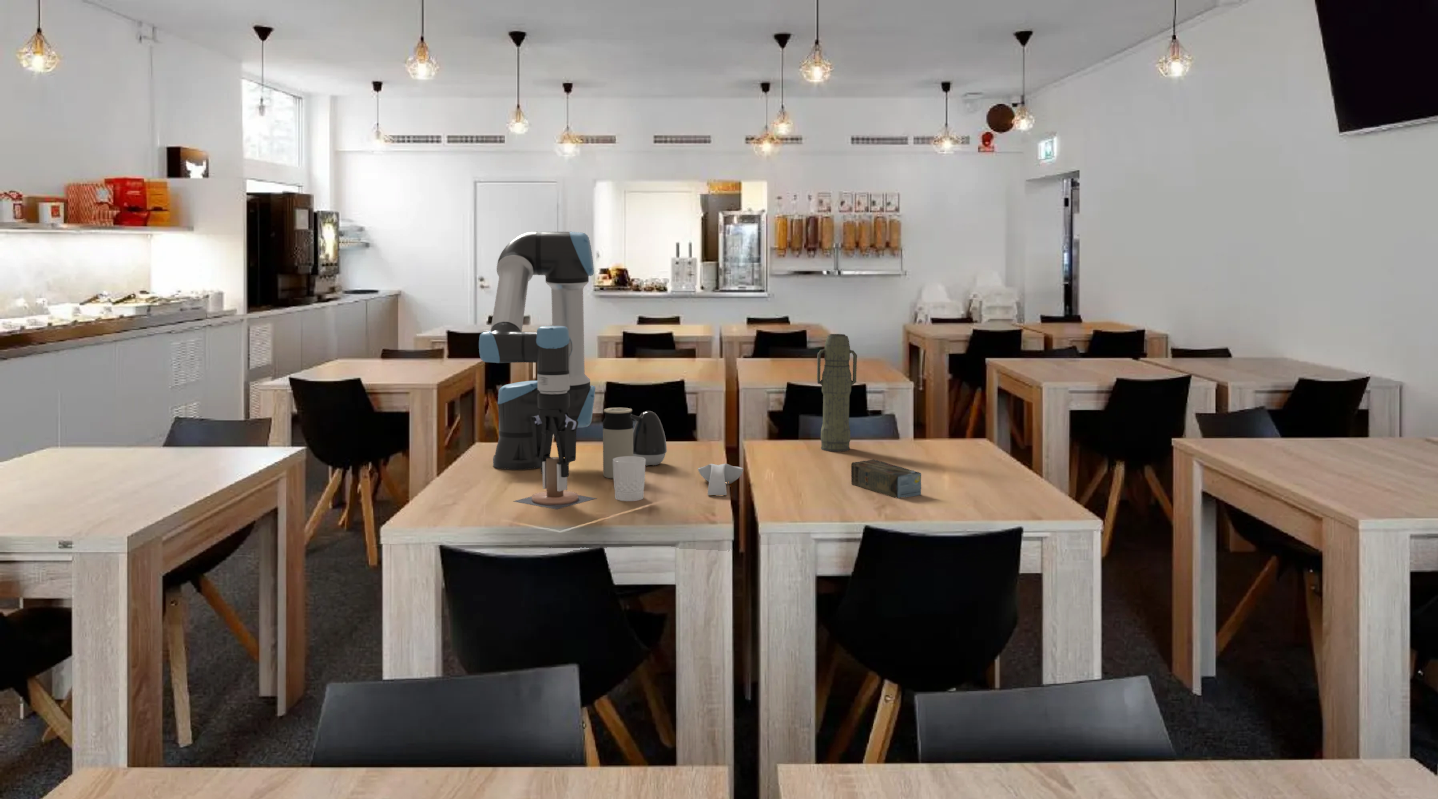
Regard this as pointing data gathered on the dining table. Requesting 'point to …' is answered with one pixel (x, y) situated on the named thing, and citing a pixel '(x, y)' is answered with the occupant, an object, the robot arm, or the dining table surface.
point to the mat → (580, 500)
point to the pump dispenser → (649, 438)
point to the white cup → (629, 478)
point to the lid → (553, 488)
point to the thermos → (836, 392)
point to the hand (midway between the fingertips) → (554, 488)
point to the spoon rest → (719, 477)
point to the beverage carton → (886, 478)
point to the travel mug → (616, 437)
